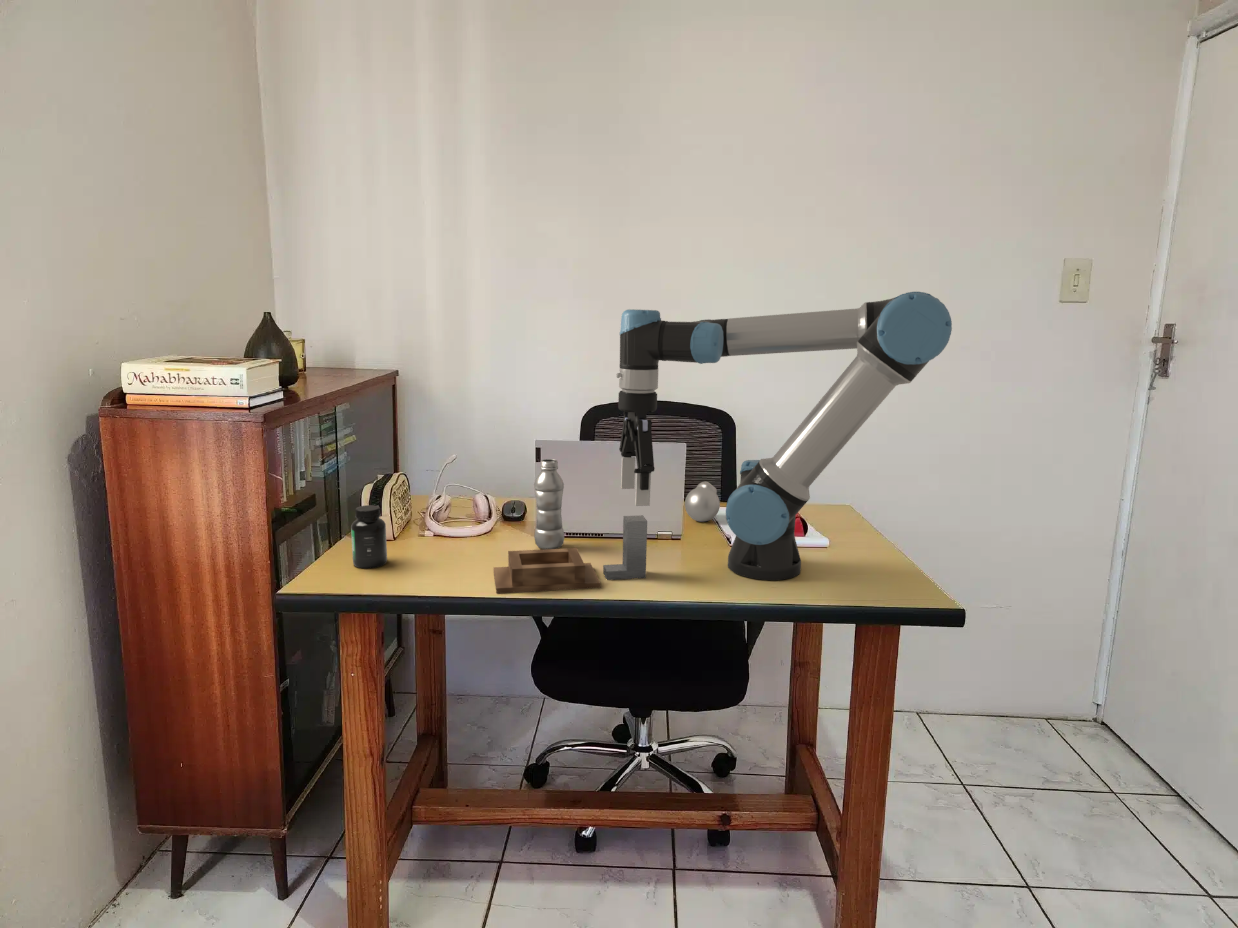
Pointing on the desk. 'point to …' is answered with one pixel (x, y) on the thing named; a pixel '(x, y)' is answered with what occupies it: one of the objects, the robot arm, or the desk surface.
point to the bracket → (631, 551)
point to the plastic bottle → (549, 506)
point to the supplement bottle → (368, 538)
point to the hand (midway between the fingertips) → (634, 496)
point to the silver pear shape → (702, 502)
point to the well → (544, 571)
